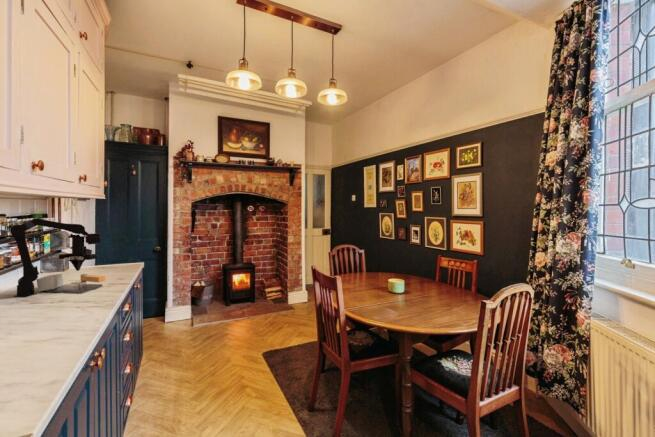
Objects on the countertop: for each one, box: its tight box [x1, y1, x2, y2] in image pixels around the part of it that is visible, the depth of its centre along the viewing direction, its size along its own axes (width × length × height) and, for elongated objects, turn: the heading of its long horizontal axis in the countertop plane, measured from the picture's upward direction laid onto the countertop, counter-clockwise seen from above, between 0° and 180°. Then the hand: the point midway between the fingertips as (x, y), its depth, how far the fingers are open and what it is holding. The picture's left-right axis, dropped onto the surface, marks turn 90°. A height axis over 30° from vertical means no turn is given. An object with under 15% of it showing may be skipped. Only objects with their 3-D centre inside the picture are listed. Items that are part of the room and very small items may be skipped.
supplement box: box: [36, 273, 65, 292], centre depth 176 cm, size 7×7×13 cm
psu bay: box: [46, 280, 103, 294], centre depth 178 cm, size 16×20×4 cm
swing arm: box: [80, 273, 106, 284], centre depth 183 cm, size 16×4×3 cm, turn 77°
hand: (77, 270), depth 179 cm, fingers closed
